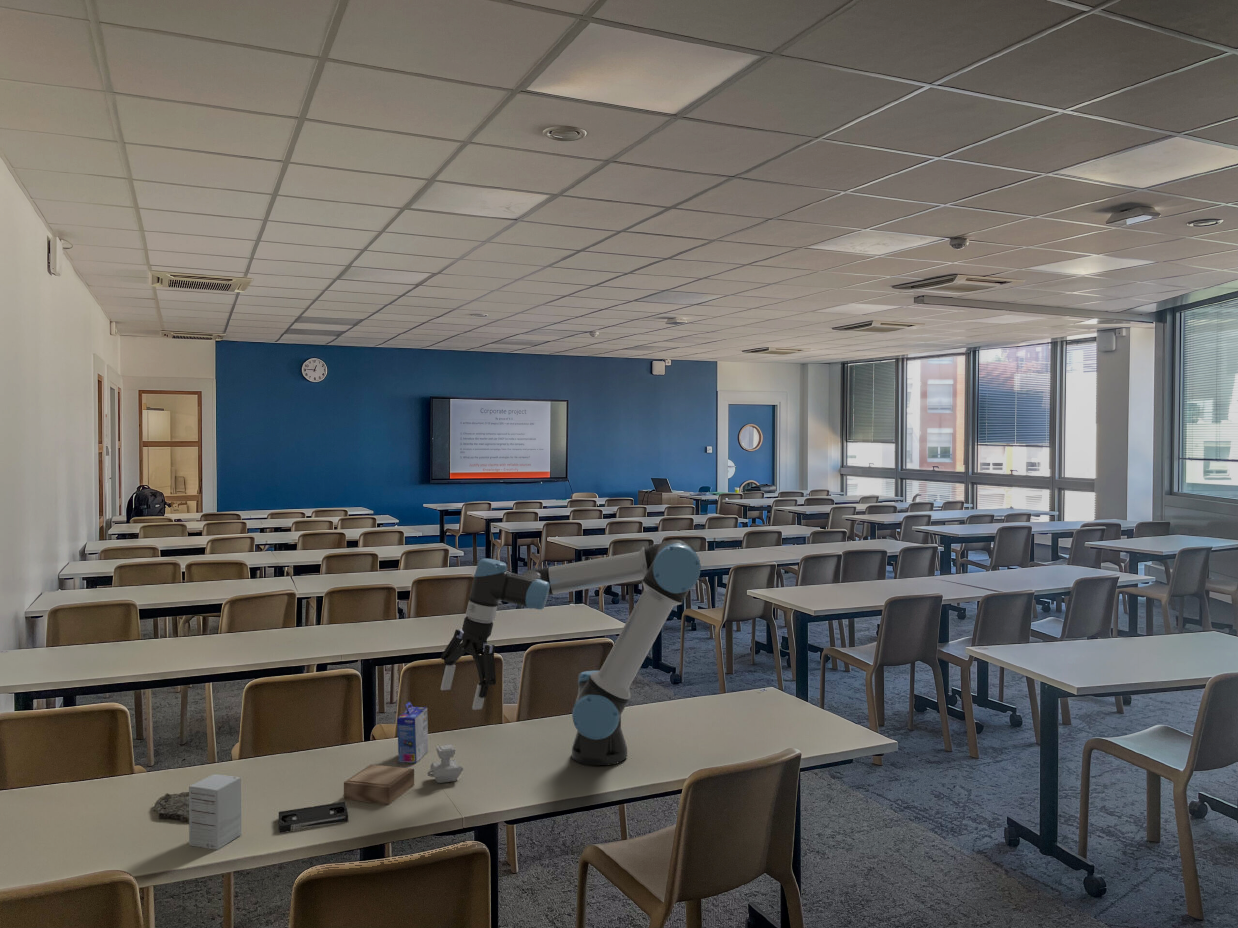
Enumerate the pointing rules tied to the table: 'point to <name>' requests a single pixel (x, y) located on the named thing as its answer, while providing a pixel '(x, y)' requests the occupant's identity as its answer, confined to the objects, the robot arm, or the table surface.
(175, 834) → the table surface
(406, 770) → the plinth
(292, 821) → the vhs tape
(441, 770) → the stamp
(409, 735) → the ink cartridge box
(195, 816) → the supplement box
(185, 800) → the stone slab
